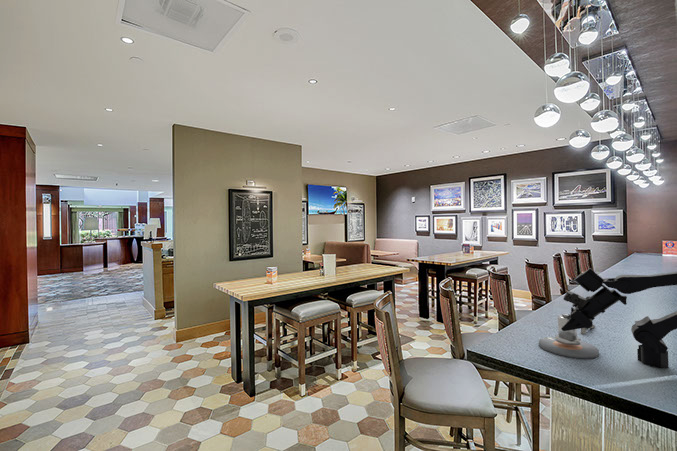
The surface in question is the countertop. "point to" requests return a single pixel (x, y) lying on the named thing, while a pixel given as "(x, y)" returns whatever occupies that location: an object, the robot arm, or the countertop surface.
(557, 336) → the cover
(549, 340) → the turntable
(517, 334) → the countertop surface
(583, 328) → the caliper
